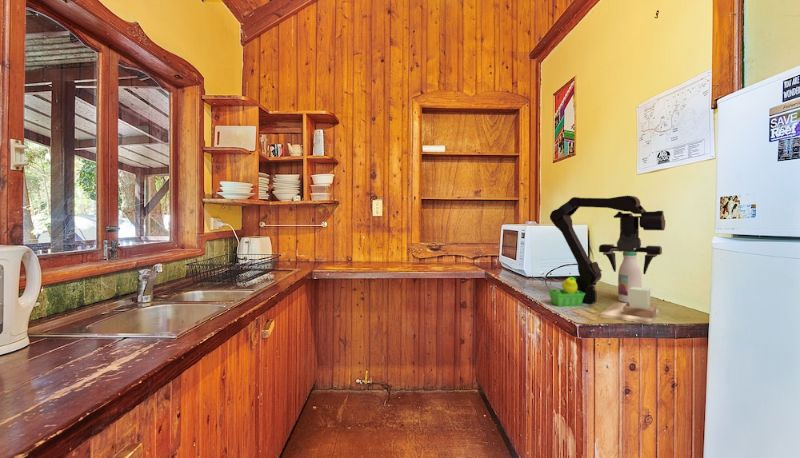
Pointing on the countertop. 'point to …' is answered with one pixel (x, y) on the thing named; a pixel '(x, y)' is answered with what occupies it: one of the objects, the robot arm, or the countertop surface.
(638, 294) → the top block
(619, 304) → the board
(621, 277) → the milk bottle
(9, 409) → the countertop surface
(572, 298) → the fruit basket
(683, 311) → the countertop surface
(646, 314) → the base block
